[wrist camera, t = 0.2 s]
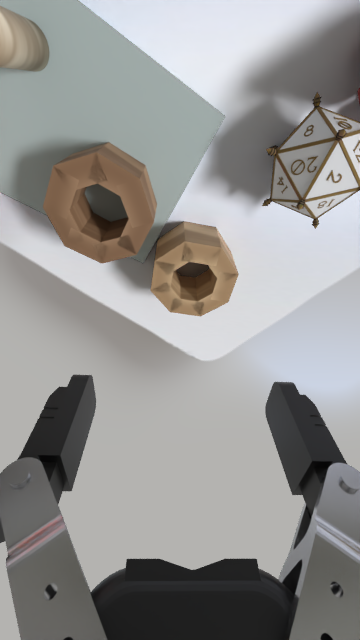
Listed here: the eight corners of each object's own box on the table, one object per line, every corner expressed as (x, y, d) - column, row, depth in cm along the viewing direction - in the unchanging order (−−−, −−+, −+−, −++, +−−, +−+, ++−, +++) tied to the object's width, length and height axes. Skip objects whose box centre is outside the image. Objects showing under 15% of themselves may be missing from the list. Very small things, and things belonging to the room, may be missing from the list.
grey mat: (-4, -64, 17) (-9, -68, 17) (224, 115, 23) (225, 116, 23) (-26, 175, 26) (-30, 177, 26) (143, 260, 32) (143, 263, 32)
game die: (275, 171, 30) (242, 238, 26) (285, 73, 22) (242, 149, 19) (369, 180, 26) (345, 259, 23) (418, 69, 19) (393, 160, 15)
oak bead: (160, 217, 29) (158, 236, 25) (237, 231, 30) (246, 252, 26) (151, 284, 34) (147, 308, 31) (216, 294, 35) (221, 319, 32)
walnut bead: (80, 124, 23) (62, 131, 19) (169, 180, 26) (168, 195, 22) (55, 212, 28) (36, 232, 24) (132, 251, 31) (126, 274, 27)
